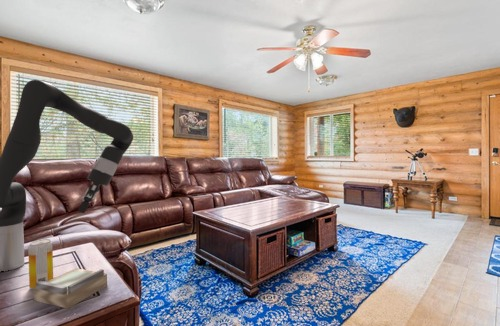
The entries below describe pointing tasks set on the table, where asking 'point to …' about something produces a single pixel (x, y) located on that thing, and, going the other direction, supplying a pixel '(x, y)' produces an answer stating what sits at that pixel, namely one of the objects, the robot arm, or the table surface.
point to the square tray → (70, 287)
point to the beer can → (40, 261)
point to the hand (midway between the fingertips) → (81, 211)
